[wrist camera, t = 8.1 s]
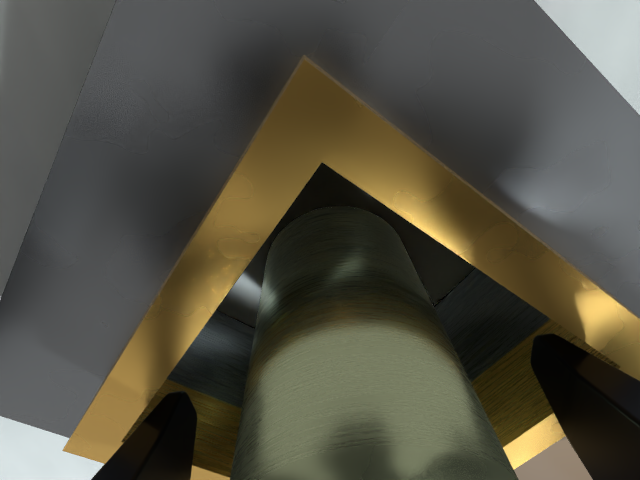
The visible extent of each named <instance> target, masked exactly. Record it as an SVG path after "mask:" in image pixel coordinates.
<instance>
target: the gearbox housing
mask: <svg viewBox="0 0 640 480" xmlns="http://www.w3.org/2000/svg"><path fill="white" fill-rule="evenodd" d="M322 162H323V163H324V164H325V165H327V166H328V167H330V168H331V169H333V170H334V171H336V172H337V173H339V174H340V175H342V176H343V177H344V178H346V179H347V180H349V181H350V182H352V183H353V184H355V185H356V186H358V187H359V188H361V189H362V190H363V191H365V192H366V193H368V194H369V195H371V196H372V197H374V198H375V199H377V200H378V201H380V202H381V203H382V204H384V205H385V206H387V207H388V208H390V209H391V210H393V211H394V212H396V213H397V214H398V215H400V216H401V217H403V218H404V219H406V220H407V221H409V222H410V223H412V224H413V225H415V226H416V227H417V228H419V229H420V230H422V231H423V232H425V233H426V234H428V235H429V236H431V237H432V238H434V239H435V240H436V241H438V242H439V243H441V244H442V245H444V246H445V247H447V248H448V249H450V250H451V251H453V252H454V253H455V254H457V255H458V256H460V257H461V258H463V259H464V260H466V261H467V262H469V263H470V264H471V265H473V266H474V267H476V268H475V269H474V270H473V271H472V272H471V273H470V274H469V275H468V276H467V277H466V278H465V279H464V280H463V281H462V282H461V283H460V284H458V285H457V286H456V287H455V288H454V289H453V290H452V291H451V292H450V293H449V294H448V295H447V296H446V297H445V298H444V299H443V300H442V301H441V302H440V303H439V304H438V305H436V306H435V307H434V308H435V310H436V312H437V314H438V316H439V318H440V320H441V323H442V325H443V327H444V329H445V331H446V333H447V335H448V337H449V339H450V341H451V343H452V345H453V347H454V349H455V351H456V353H457V355H458V357H459V359H460V361H461V363H462V365H463V367H464V369H465V372H466V374H467V376H468V378H469V380H470V382H471V384H472V386H473V388H474V390H475V392H476V394H477V396H478V398H479V400H480V402H481V404H482V406H483V408H484V410H485V412H486V414H487V416H488V418H489V421H490V423H491V425H492V427H493V429H494V431H495V433H496V435H497V437H498V439H499V441H500V443H501V445H502V447H503V449H504V451H505V453H506V455H507V457H508V459H509V461H510V463H511V465H512V467H513V470H514V469H515V468H517V467H518V466H520V465H521V464H523V463H525V462H526V461H528V460H529V459H531V458H532V457H534V456H535V455H537V454H539V453H540V452H541V451H543V450H545V449H546V448H548V447H549V446H551V445H552V444H554V443H556V442H557V441H559V440H560V439H562V438H563V437H565V436H566V435H565V433H564V432H563V430H562V428H561V426H560V424H559V422H558V420H557V418H556V416H555V414H554V412H553V410H552V408H551V406H550V404H549V402H548V400H547V398H546V396H545V394H544V392H543V390H542V388H541V386H540V384H539V382H538V380H537V378H536V376H535V374H534V372H533V370H532V367H531V362H530V358H531V351H532V345H533V339H534V337H535V336H537V335H542V334H549V333H553V334H556V335H558V336H560V337H562V338H563V339H565V340H567V341H569V342H571V343H572V344H574V345H576V346H578V347H580V348H581V349H583V350H585V351H587V352H589V353H591V354H592V355H594V356H596V357H598V358H600V359H601V360H603V361H605V362H607V363H609V364H610V365H612V366H614V367H616V368H618V369H619V370H621V371H623V372H625V373H627V374H628V375H630V376H632V377H634V378H636V379H637V380H639V381H640V115H639V114H638V113H637V112H636V111H635V110H634V109H633V108H632V106H631V105H630V104H629V103H628V102H627V101H626V100H625V99H624V98H623V97H622V96H621V95H620V93H619V92H618V91H617V90H616V89H615V88H614V87H613V86H612V85H611V84H610V83H609V81H608V80H607V79H606V78H605V77H604V76H603V75H602V74H601V73H600V72H599V71H598V69H597V68H596V67H595V66H594V65H593V64H592V63H591V62H590V61H589V60H588V59H587V58H586V56H585V55H584V54H583V53H582V52H581V51H580V50H579V49H578V48H577V47H576V46H575V44H574V43H573V42H572V41H571V40H570V39H569V38H568V37H567V36H566V35H565V34H564V32H563V31H562V30H561V29H560V28H559V27H558V26H557V25H556V24H555V23H554V22H553V21H552V19H551V18H550V17H549V16H548V15H547V14H546V13H545V12H544V11H543V10H542V9H541V7H540V6H539V5H538V4H537V3H536V2H535V1H534V0H116V2H115V5H114V8H113V10H112V13H111V15H110V18H109V20H108V23H107V26H106V28H105V31H104V33H103V36H102V39H101V41H100V44H99V46H98V49H97V52H96V54H95V57H94V59H93V62H92V64H91V67H90V70H89V72H88V75H87V77H86V80H85V83H84V85H83V88H82V90H81V93H80V96H79V98H78V101H77V103H76V106H75V108H74V111H73V114H72V116H71V119H70V121H69V124H68V127H67V129H66V132H65V134H64V137H63V140H62V142H61V145H60V147H59V150H58V152H57V155H56V158H55V160H54V163H53V165H52V168H51V171H50V173H49V176H48V178H47V181H46V184H45V186H44V189H43V191H42V194H41V196H40V199H39V202H38V204H37V207H36V209H35V212H34V215H33V217H32V220H31V222H30V225H29V228H28V230H27V233H26V235H25V238H24V240H23V243H22V246H21V248H20V251H19V253H18V256H17V259H16V261H15V264H14V266H13V269H12V272H11V274H10V277H9V279H8V282H7V284H6V287H5V290H4V292H3V295H2V297H1V300H0V416H2V417H5V418H9V419H12V420H15V421H18V422H21V423H24V424H27V425H31V426H34V427H37V428H40V429H43V430H46V431H49V432H53V433H56V434H59V435H62V436H65V437H68V438H70V439H69V440H68V442H67V444H66V445H65V447H64V449H63V451H65V452H68V453H72V454H75V455H78V456H82V457H85V458H88V459H91V460H95V461H98V462H101V463H104V464H105V463H106V462H107V461H108V460H109V459H110V458H111V457H112V455H113V454H114V453H115V452H116V451H117V450H118V449H119V448H120V446H121V445H122V444H123V443H124V442H125V441H126V440H127V438H128V437H129V436H130V435H131V434H132V433H133V432H134V431H135V429H136V428H137V427H138V426H139V425H140V424H141V423H142V421H143V420H144V419H145V418H146V417H147V416H148V415H149V414H150V412H151V411H152V410H153V409H154V408H155V407H156V406H157V404H158V403H159V402H160V401H161V400H162V399H163V398H164V397H165V396H166V395H167V394H168V393H171V392H177V391H185V392H186V393H187V394H188V396H189V398H190V400H191V402H192V404H193V406H194V408H195V410H196V412H197V428H196V437H195V445H194V454H193V463H192V471H191V479H190V480H230V475H231V469H232V463H233V457H234V451H235V446H236V440H237V434H238V428H239V422H240V416H241V410H242V404H243V398H244V392H245V386H246V380H247V374H248V368H249V362H250V356H251V350H252V344H253V338H254V332H255V329H254V328H252V327H250V326H248V325H245V324H243V323H241V322H239V321H237V320H235V319H233V318H231V317H229V316H227V315H225V314H223V313H220V312H218V311H216V309H217V308H218V306H219V305H220V303H221V302H222V301H223V299H224V298H225V296H226V295H227V294H228V292H229V291H230V289H231V288H232V287H233V285H234V284H235V282H236V281H237V280H238V278H239V277H240V276H241V274H242V273H243V271H244V270H245V269H246V267H247V266H248V264H249V263H250V262H251V260H252V259H253V257H254V256H255V255H256V253H257V252H258V250H259V249H260V248H261V246H262V245H263V244H264V242H265V241H266V239H267V238H268V237H269V235H270V234H271V232H272V231H273V230H274V228H275V227H276V225H277V224H278V223H279V221H280V220H281V218H282V217H283V216H284V214H285V213H286V212H287V210H288V209H289V207H290V206H291V205H292V203H293V202H294V200H295V199H296V198H297V196H298V195H299V193H300V192H301V191H302V189H303V188H304V186H305V185H306V184H307V182H308V181H309V180H310V178H311V177H312V175H313V174H314V173H315V171H316V170H317V168H318V167H319V166H320V164H321V163H322Z"/></svg>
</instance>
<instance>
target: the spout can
mask: <svg viewBox="0 0 640 480" xmlns="http://www.w3.org/2000/svg"><path fill="white" fill-rule="evenodd" d="M230 480H518V478H517V476H516V474H515V472H514V470H513V467H512V465H511V463H510V461H509V459H508V457H507V455H506V453H505V451H504V449H503V447H502V445H501V443H500V441H499V439H498V437H497V435H496V433H495V431H494V429H493V427H492V425H491V423H490V421H489V418H488V416H487V414H486V412H485V410H484V408H483V406H482V404H481V402H480V400H479V398H478V396H477V394H476V392H475V390H474V388H473V386H472V384H471V382H470V380H469V378H468V376H467V374H466V372H465V369H464V367H463V365H462V363H461V361H460V359H459V357H458V355H457V353H456V351H455V349H454V347H453V345H452V343H451V341H450V339H449V337H448V335H447V333H446V331H445V329H444V327H443V325H442V323H441V320H440V318H439V316H438V314H437V312H436V310H435V308H434V306H433V304H432V302H431V300H430V298H429V296H428V294H427V292H426V290H425V288H424V286H423V284H422V282H421V280H420V278H419V276H418V274H417V271H416V269H415V267H414V265H413V263H412V261H411V259H410V257H409V255H408V253H407V251H406V249H405V247H404V245H403V243H402V241H401V239H400V237H399V235H398V234H397V233H396V231H395V230H394V229H393V228H392V227H391V226H390V225H389V224H388V223H387V222H386V221H385V220H383V219H382V218H381V217H379V216H377V215H375V214H373V213H371V212H369V211H366V210H363V209H359V208H356V207H348V206H331V207H324V208H319V209H315V210H313V211H310V212H307V213H305V214H303V215H301V216H299V217H297V218H296V219H294V220H293V221H291V222H290V223H289V224H288V225H287V226H285V227H284V228H283V229H282V230H281V232H280V233H279V234H278V235H277V236H276V238H275V240H274V241H273V243H272V245H271V247H270V250H269V252H268V256H267V261H266V267H265V273H264V279H263V285H262V291H261V297H260V302H259V308H258V314H257V320H256V326H255V332H254V338H253V344H252V350H251V356H250V362H249V368H248V374H247V380H246V386H245V392H244V398H243V404H242V410H241V416H240V422H239V428H238V434H237V440H236V446H235V451H234V457H233V463H232V469H231V475H230Z"/></svg>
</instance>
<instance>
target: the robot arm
mask: <svg viewBox="0 0 640 480" xmlns="http://www.w3.org/2000/svg"><path fill="white" fill-rule="evenodd" d="M530 362H531V367H532V370H533V372H534V374H535V376H536V378H537V380H538V382H539V384H540V386H541V388H542V390H543V392H544V394H545V396H546V398H547V400H548V402H549V404H550V406H551V408H552V410H553V412H554V414H555V416H556V418H557V420H558V422H559V424H560V426H561V428H562V430H563V432H564V433H565V435H566V437H567V439H568V440H569V442H570V444H571V445H572V447H573V448H574V450H575V452H576V453H577V454H578V456H579V458H580V459H581V461H582V463H583V464H584V466H585V467H586V469H587V470H588V472H589V474H590V476H591V477H592V479H593V480H640V381H639V380H637V379H636V378H634V377H632V376H630V375H628V374H627V373H625V372H623V371H621V370H619V369H618V368H616V367H614V366H612V365H610V364H609V363H607V362H605V361H603V360H601V359H600V358H598V357H596V356H594V355H592V354H591V353H589V352H587V351H585V350H583V349H581V348H580V347H578V346H576V345H574V344H572V343H571V342H569V341H567V340H565V339H563V338H562V337H560V336H558V335H556V334H553V333H549V334H542V335H537V336H535V337H534V339H533V345H532V351H531V358H530ZM196 428H197V412H196V410H195V408H194V406H193V404H192V402H191V400H190V398H189V396H188V394H187V393H186V392H185V391H177V392H171V393H168V394H167V395H166V396H165V397H164V398H163V399H162V400H161V401H160V402H159V403H158V404H157V406H156V407H155V408H154V409H153V410H152V411H151V412H150V414H149V415H148V416H147V417H146V418H145V419H144V420H143V421H142V423H141V424H140V425H139V426H138V427H137V428H136V429H135V431H134V432H133V433H132V434H131V435H130V436H129V437H128V438H127V440H126V441H125V442H124V443H123V444H122V445H121V446H120V448H119V449H118V450H117V451H116V452H115V453H114V454H113V455H112V457H111V458H110V459H109V460H108V461H107V462H106V463H105V465H104V466H103V467H102V468H101V469H100V470H99V471H98V472H97V474H96V475H95V476H94V477H93V478H92V479H91V480H190V479H191V471H192V463H193V454H194V445H195V437H196Z"/></svg>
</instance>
